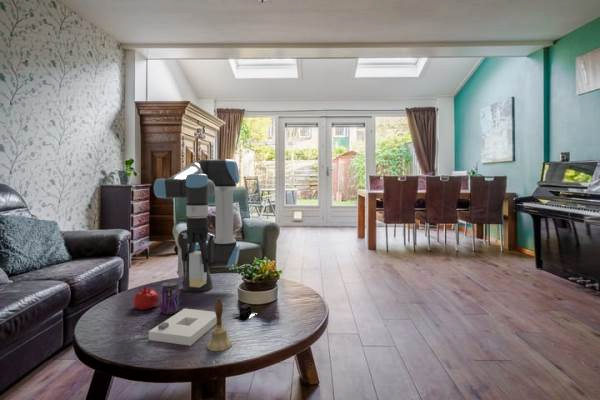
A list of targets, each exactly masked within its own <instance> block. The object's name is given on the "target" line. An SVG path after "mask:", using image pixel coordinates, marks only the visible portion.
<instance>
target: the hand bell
mask: <svg viewBox="0 0 600 400" xmlns="http://www.w3.org/2000/svg"><path fill="white" fill-rule="evenodd" d="M223 309H224V306H223V302H222V299H221V297H217V298H216V302H215V303H214V312H215V313H216V317H217V323H216V325H215V326H216V327H215V328H213V329H212V332H211V337H210V340H209V341H208V343H207V344H206V349H207V350H209V351H211V352H222V351H225V350H229V349H230V348H231V347H232V346H233V342H232V340H231V339H229V336H228V335H227V329H226V328H225V327H223V323H222V315H223V311H224V310H223Z"/></svg>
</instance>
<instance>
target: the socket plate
mask: <svg viewBox="0 0 600 400" xmlns="http://www.w3.org/2000/svg"><path fill="white" fill-rule="evenodd" d="M216 323H217V317H216V313H215V311H211V310H210V311H209V310H202V309H192V308H186V307H185V308H182V310H179V311H177V312H176V313H174V315H172V316H170V317H169V318H167V319H166V320H165V321H162V322H161V323H160V324H157V326H156V325H155V327H152V329H150V330H149V331H148V340H149V341H154V342H155V341H156V342H160V343H169V344H176V345H182V346H183V345H184V346H189V347H191V346H192V345H193V344H194V343H196V342H197V341H198V340H199V339H200V338H201V337H203V336H205V334H206V333H207V332H209V331H210V330H211V329H212V328H213V327H214V326H217V325H216Z"/></svg>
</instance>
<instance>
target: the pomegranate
mask: <svg viewBox="0 0 600 400" xmlns="http://www.w3.org/2000/svg"><path fill="white" fill-rule="evenodd" d="M159 300H160V297H159V294H158V292H157V291H156V290H154V289H153V287H152V288H149V289H148V288H147V286H143V289H138V292H136V294H135V295H134V297H133V300H132V302H133V306H134V308H135V309H137V310H139V311H140V310H141V311H146V310H149V309H153V308H154V307H156V306H157V305H158V302H159Z"/></svg>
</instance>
